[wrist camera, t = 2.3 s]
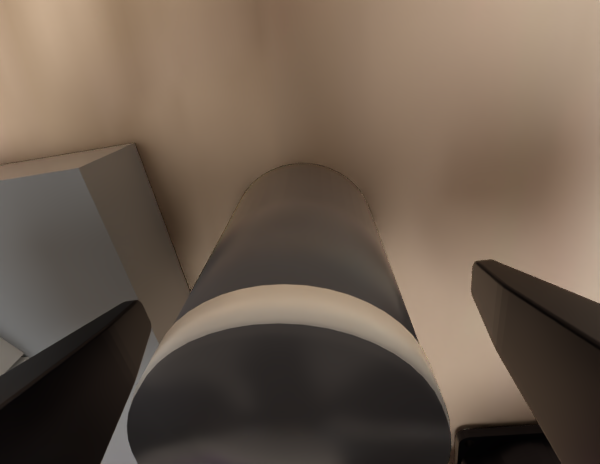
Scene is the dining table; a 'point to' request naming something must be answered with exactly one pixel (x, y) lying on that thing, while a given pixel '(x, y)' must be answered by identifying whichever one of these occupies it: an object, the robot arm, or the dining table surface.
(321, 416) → the lens
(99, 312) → the mount
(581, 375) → the robot arm
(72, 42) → the dining table surface
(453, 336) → the dining table surface
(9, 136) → the dining table surface
